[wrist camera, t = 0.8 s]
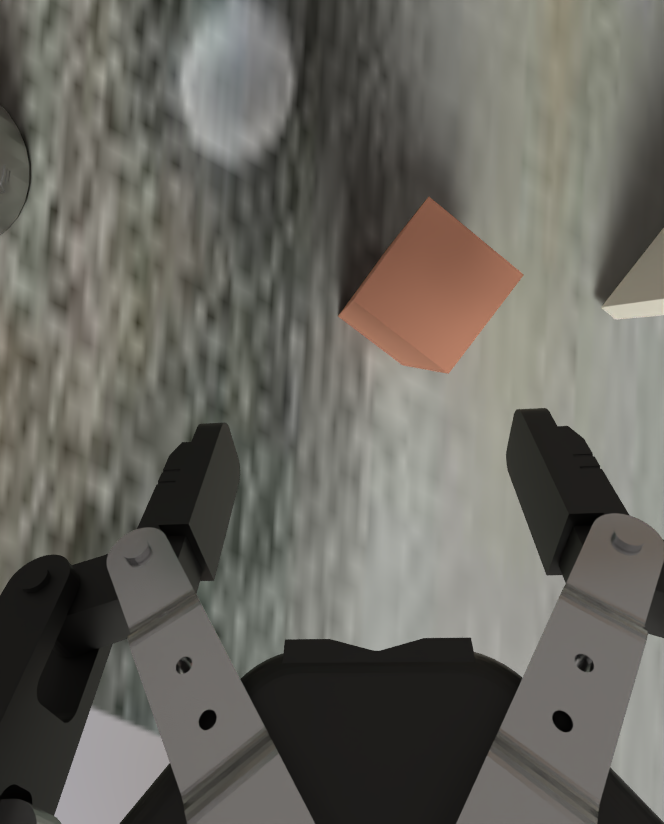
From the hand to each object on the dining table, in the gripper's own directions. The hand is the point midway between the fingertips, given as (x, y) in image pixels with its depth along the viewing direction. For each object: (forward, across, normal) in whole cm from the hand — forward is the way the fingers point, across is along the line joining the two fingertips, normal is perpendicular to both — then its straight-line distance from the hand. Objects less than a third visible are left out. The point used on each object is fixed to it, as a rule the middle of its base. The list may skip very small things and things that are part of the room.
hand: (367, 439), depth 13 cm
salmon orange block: (+16, -2, +4) cm, 17 cm away
